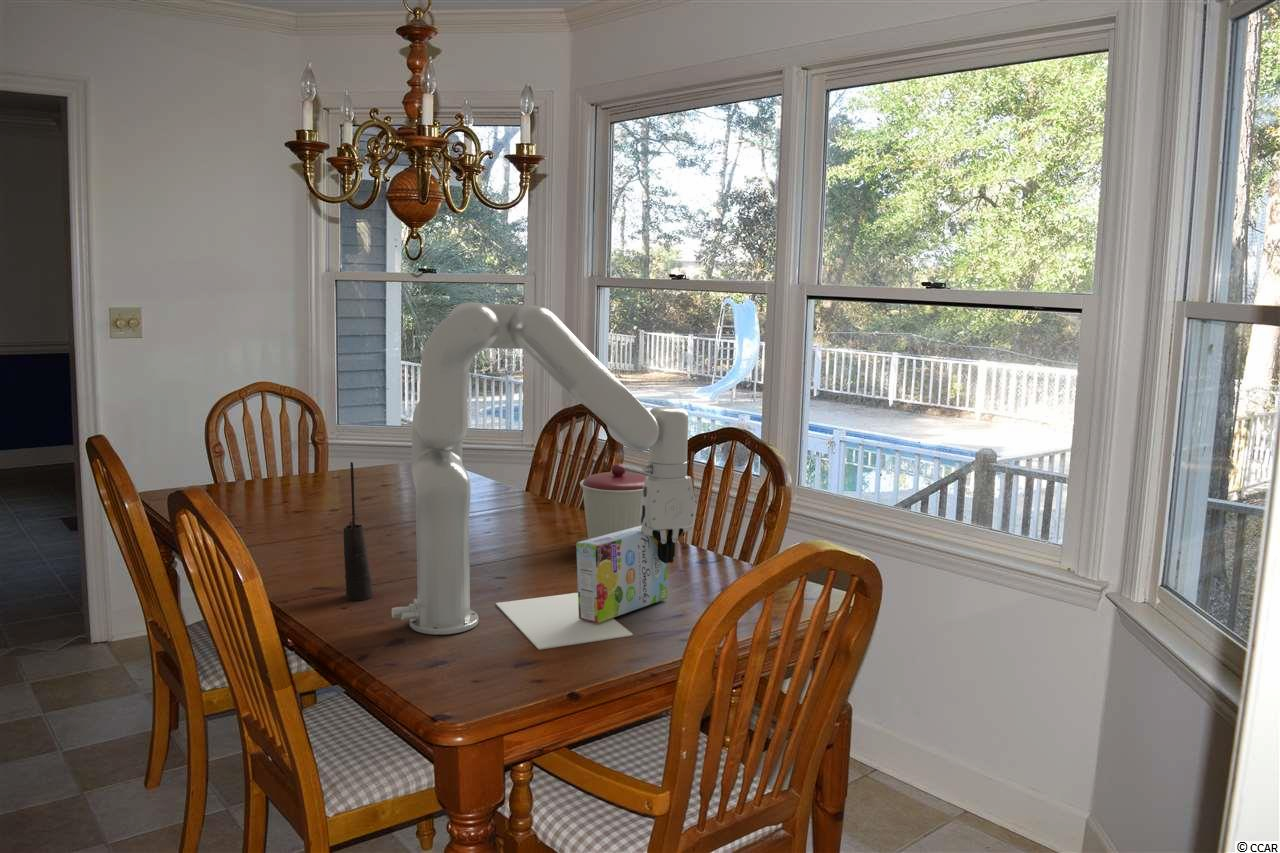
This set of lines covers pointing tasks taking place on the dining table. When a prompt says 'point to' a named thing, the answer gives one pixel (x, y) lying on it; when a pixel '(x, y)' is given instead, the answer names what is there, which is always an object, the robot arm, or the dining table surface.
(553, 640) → the mat
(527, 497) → the dining table surface
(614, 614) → the snack box
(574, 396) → the robot arm
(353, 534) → the butter churn
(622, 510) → the canister
